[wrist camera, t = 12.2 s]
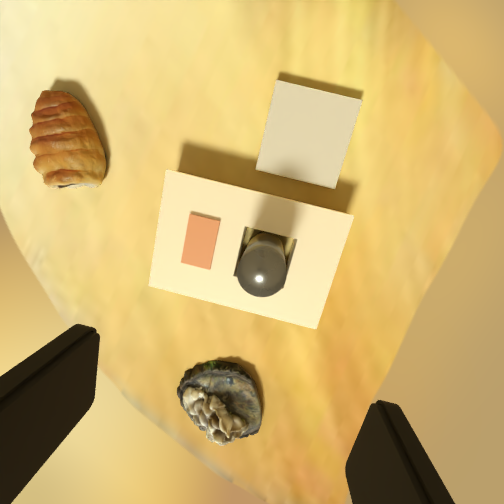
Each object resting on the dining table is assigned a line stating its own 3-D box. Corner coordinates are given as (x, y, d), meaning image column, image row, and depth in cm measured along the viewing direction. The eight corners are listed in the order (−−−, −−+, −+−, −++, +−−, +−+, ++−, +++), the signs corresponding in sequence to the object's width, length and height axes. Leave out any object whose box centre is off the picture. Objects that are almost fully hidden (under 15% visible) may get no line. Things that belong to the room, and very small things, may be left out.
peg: (251, 228, 28) (242, 243, 21) (287, 237, 28) (292, 256, 21) (243, 263, 29) (231, 290, 22) (278, 272, 29) (279, 302, 22)
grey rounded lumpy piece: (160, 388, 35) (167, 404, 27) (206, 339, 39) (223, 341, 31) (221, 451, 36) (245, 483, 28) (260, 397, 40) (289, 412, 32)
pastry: (35, 100, 27) (-2, 86, 24) (95, 90, 27) (67, 74, 23) (59, 192, 30) (28, 192, 26) (116, 185, 29) (93, 184, 25)
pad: (276, 83, 25) (276, 79, 24) (359, 103, 25) (362, 100, 24) (256, 169, 27) (255, 169, 26) (332, 188, 27) (335, 188, 26)
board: (177, 171, 28) (164, 168, 24) (345, 212, 27) (355, 216, 24) (160, 276, 31) (147, 286, 27) (312, 315, 30) (316, 330, 27)
